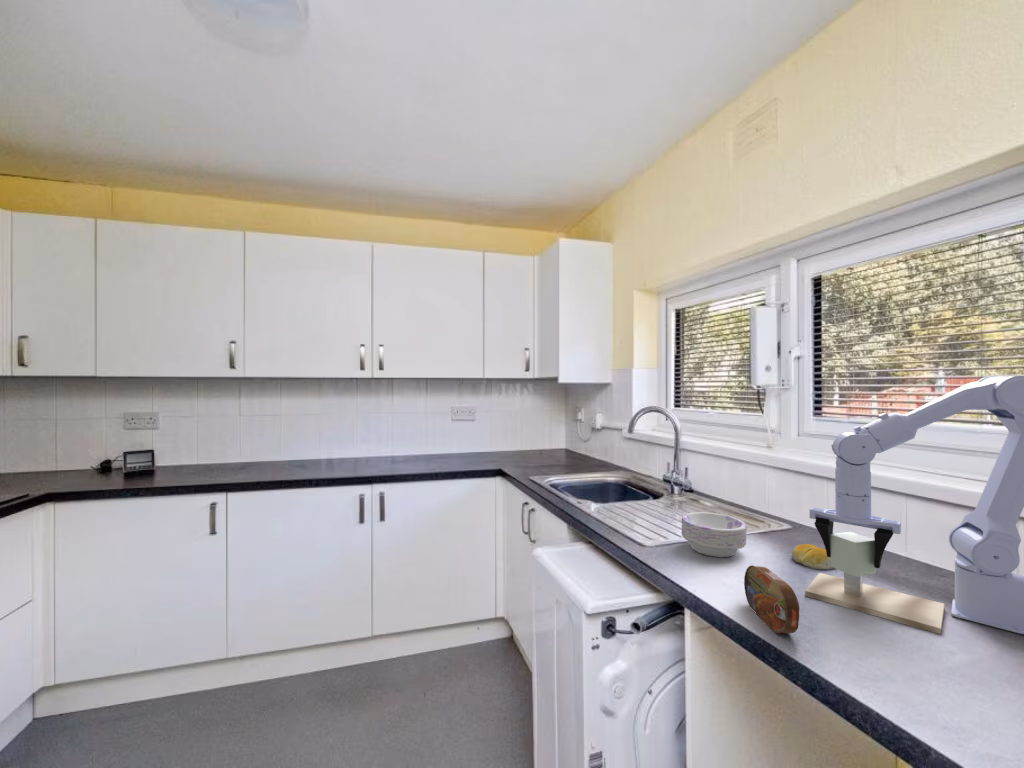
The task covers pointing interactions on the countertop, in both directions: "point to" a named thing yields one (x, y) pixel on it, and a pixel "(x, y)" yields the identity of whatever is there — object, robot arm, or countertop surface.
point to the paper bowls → (714, 533)
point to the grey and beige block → (853, 584)
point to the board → (880, 603)
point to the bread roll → (811, 556)
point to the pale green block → (853, 553)
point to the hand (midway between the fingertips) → (853, 561)
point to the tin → (772, 599)
